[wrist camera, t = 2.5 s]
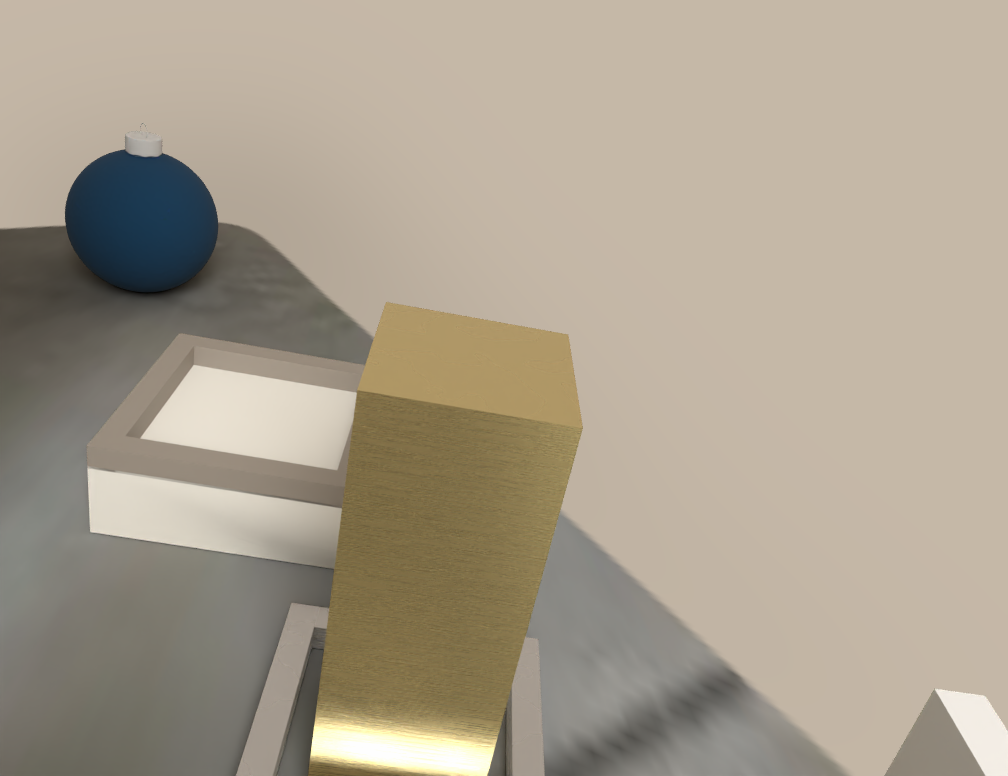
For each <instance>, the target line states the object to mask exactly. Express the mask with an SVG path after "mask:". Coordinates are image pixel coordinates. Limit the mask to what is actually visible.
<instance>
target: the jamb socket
mask: <svg viewBox="0 0 1008 776" xmlns="http://www.w3.org/2000/svg"><path fill="white" fill-rule="evenodd" d="M328 615H329V608H324V607H317V606H311V605H304V604H297V603H291V606H290V609H289V612H288V616H287V619H286V622H285V625H284V628H283V631H282V634H281V637H280V640H279V644H278V647H277V650H276V653H275V656H274V659H273V662H272V665H271V668H270V671H269V675H268V678H267V681H266V684H265V687H264V690H263V693H262V696H261V699H260V703H259V706H258V709H257V712H256V715H255V718H254V721H253V724H252V727H251V730H250V734H249V737H248V740H247V743H246V746H245V749H244V752H243V755H242V758H241V761H240V765H239V768H238V771H237V774H236V776H277V772H278V769H279V765H280V761H281V758H282V754H283V750H284V747H285V743H286V739H287V736H288V732H289V729H290V725H291V721H292V718H293V714H294V710H295V707H296V703H297V699H298V696H299V692H300V688H301V685H302V681H303V677H304V674H305V670H306V666H307V663H308V659H309V655H310V652H311V648H317V649H324V646H325V638H326V631H327V623H328ZM506 776H544V754H543V732H542V710H541V688H540V667H539V645H538V639H534V638H527V637H525V640H524V643H523V647H522V651H521V654H520V658H519V662H518V665H517V669H516V672H515V676H514V680H513V683H512V687H511V691H510V694H509V698H508V702H507V705H506Z"/></svg>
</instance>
